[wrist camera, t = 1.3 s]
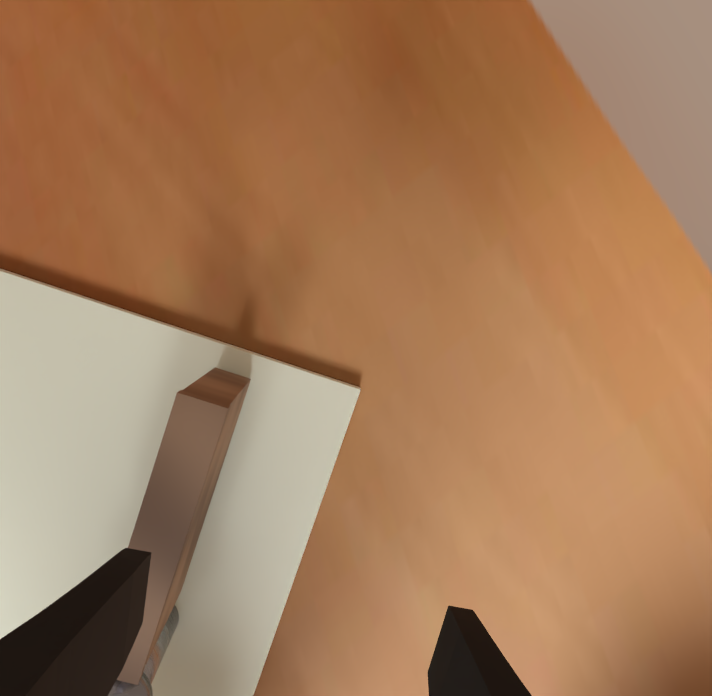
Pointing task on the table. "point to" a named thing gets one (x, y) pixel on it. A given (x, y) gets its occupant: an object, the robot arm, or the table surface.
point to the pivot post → (149, 663)
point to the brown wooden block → (181, 497)
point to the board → (134, 467)
